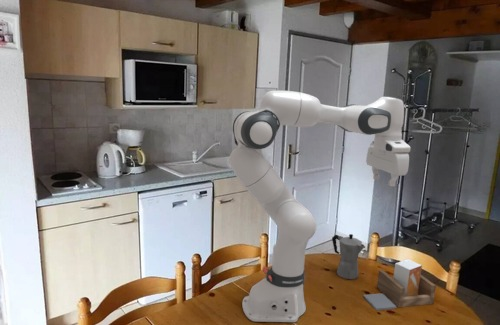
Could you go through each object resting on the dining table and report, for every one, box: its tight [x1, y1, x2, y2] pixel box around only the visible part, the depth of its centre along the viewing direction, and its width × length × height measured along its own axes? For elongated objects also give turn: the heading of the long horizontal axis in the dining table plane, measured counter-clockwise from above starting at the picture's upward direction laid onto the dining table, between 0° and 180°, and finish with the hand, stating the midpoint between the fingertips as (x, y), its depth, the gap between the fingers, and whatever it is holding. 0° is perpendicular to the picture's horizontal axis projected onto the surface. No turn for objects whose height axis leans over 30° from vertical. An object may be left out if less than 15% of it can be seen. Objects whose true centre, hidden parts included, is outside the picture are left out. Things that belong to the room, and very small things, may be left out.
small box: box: [392, 258, 423, 297], centre depth 138 cm, size 8×6×13 cm
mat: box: [362, 292, 398, 311], centre depth 133 cm, size 8×9×1 cm
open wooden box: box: [376, 269, 437, 308], centre depth 138 cm, size 15×14×8 cm
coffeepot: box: [331, 233, 366, 280], centre depth 153 cm, size 15×9×18 cm, turn 44°
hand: (383, 182), depth 128 cm, fingers open, 8 cm apart
